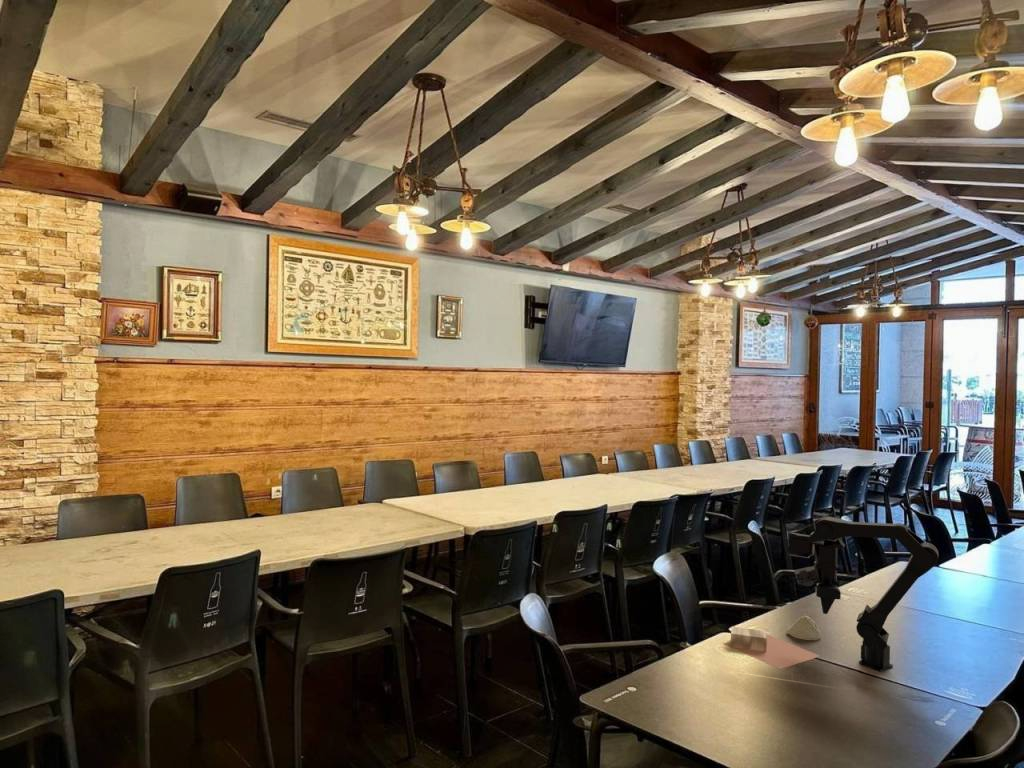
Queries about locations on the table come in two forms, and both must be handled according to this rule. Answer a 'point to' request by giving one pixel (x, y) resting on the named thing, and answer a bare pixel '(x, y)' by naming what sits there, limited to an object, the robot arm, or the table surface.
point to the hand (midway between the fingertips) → (824, 613)
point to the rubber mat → (779, 653)
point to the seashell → (804, 629)
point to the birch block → (749, 639)
